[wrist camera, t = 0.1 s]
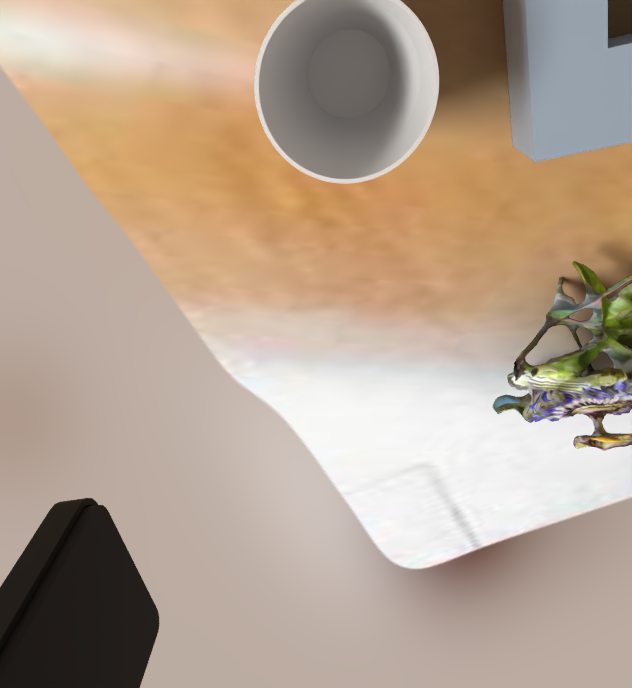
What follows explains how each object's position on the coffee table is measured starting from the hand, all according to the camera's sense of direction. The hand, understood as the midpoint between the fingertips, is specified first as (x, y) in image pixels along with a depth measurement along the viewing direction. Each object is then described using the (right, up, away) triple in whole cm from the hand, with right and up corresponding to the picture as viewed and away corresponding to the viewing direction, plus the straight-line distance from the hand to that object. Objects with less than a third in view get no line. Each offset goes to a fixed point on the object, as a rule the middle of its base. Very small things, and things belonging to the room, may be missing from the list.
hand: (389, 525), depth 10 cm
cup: (+1, +19, +26) cm, 32 cm away
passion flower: (+17, +4, +32) cm, 37 cm away
